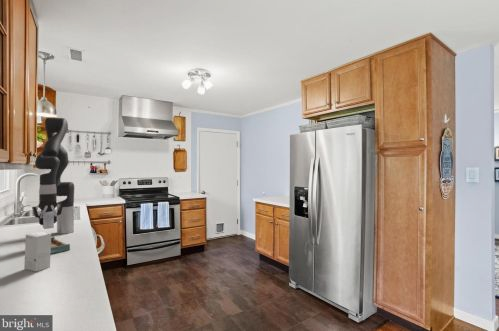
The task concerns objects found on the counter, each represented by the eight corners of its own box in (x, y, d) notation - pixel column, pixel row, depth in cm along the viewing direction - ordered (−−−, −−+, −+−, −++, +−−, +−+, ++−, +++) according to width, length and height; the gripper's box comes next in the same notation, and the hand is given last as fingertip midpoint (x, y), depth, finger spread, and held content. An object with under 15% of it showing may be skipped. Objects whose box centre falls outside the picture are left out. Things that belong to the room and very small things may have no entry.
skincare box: (23, 269, 112) (23, 234, 112) (39, 264, 118) (39, 231, 118) (36, 272, 109) (36, 236, 109) (51, 267, 115) (51, 232, 115)
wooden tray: (34, 246, 145) (34, 240, 145) (53, 242, 152) (53, 237, 152) (48, 254, 131) (48, 248, 131) (69, 250, 138) (69, 244, 138)
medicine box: (53, 228, 143) (53, 212, 143) (43, 229, 140) (43, 213, 140) (52, 225, 149) (52, 210, 149) (42, 226, 146) (42, 211, 146)
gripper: (33, 194, 137) (33, 227, 137) (65, 192, 148) (65, 222, 148) (29, 193, 141) (29, 225, 141) (60, 191, 153) (61, 221, 153)
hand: (48, 223), depth 145 cm, fingers closed on medicine box, 5 cm apart
